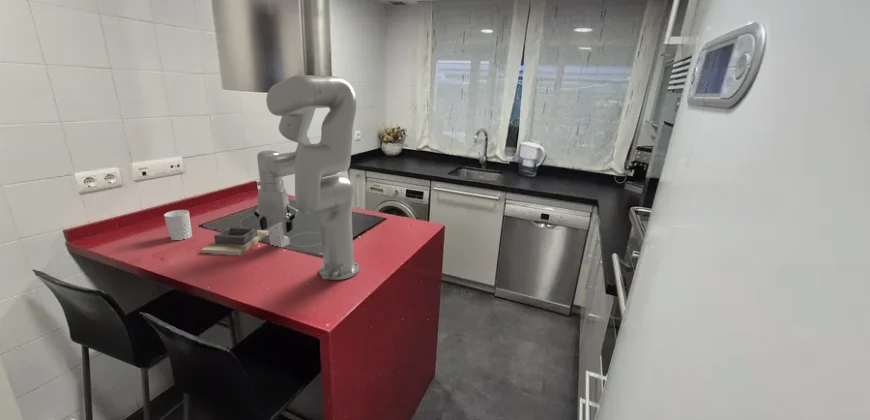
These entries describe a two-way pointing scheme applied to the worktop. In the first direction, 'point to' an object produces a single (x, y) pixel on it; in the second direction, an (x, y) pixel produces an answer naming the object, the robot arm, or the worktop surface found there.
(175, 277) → the worktop surface
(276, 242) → the white wedge bracket
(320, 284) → the worktop surface
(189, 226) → the white cup
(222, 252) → the board
